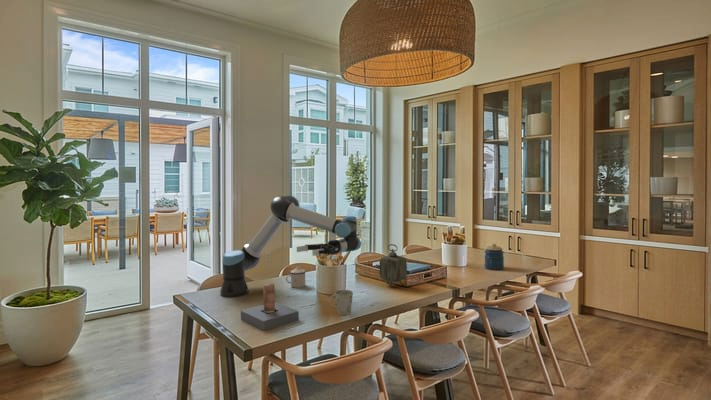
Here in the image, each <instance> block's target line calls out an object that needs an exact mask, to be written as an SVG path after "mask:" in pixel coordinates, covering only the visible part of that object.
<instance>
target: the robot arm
mask: <svg viewBox="0 0 711 400" xmlns="http://www.w3.org/2000/svg"><path fill="white" fill-rule="evenodd" d="M269 207H270V212H271V214H270V216H269V217H268V218H267V219H266V221H265V222H264V224H263V225H262V226H261V228H260V229H259V231H257V233H256V234H255V235H254V237H253V238H252V240H250V242H249V243H245V244H244V245H243V247H242V248H241V250H238V249H237V250H232V251H227V252H225V253H224V254H222V261H221V262H222V276H223V277H222V279H223V281H222V284H221V287H220V291H219V292H220V296H221V297H226V298H233V297H234V298H235V297H241V296H245V295H247V294H248V293H249V287H248V284H247V282H246V279H245V277H246V276H245V274H246V273H245V272H246V271H248V270H251V269H254V268H255V267H256V266H258V264H259V262H260V258H261V257H262V251H264V249H265V247H266V246H267V245H268V244H269V242H270V241H271V240H272V238H273V237H274V236H275V234H276V233H277V232H278V231H279V229H280V228H281V227H282V225H283V224H285V223H288V222H289V221H290V220H294V221H296V222H299V223H302V224H305V225H308V226H311V227H314V228H317V229H319V230H322V231H326V232H328V233H331V234H334V235H336V236H337V237H338V238H337V239H331V240H329V241H328V243H314V244H305V245H301V246H296V253H301V252H308V251H312V256H314V257H315V256H320V255H336V254H340V255H341V254H343V253H347V252H353V251H357V250H360V248H361V246H362V241H361V238H359V237H358V232H357V231H358V229H357V226H358V225H357V224H358V221H357V216H351V215H348V216H344V217H343V220H341V219H340V220H339V219H336V218H334V217H330V216H328V215H325V214H322V213H318V212H315V211H313V210H310V209H307V208H303V207H301V206H300V202H299V200H298V198H297V197H296V196H293V195H290V194H289V195H279V196H276V197H274V199H272V201H271V202H270V206H269ZM342 247H343V248H342Z"/></svg>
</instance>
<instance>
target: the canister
mask: <svg viewBox="0 0 711 400" xmlns="http://www.w3.org/2000/svg"><path fill="white" fill-rule="evenodd" d="M485 249H486V250H484V268H485V269H486V270H492V271H502V270H504V269H505V265H504V264H505V263H504V262H505V261H504V260H505V256H504V254H505V252H504V251H503V249H504V248H502V247H501V246H498V245H497V244H496V243H492V245H489V246H486V247H485Z"/></svg>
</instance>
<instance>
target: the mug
mask: <svg viewBox="0 0 711 400" xmlns="http://www.w3.org/2000/svg"><path fill="white" fill-rule="evenodd" d="M353 295H354V293H353V291H352V290H351V289H350V290H348V289H340V290H336V291H335V292H334V293H333V294H331V296H330V298H329V302H330V304H331V306H332V307H333V308H335V309H337V314H338V315H339V316H348V315H350V314H351V313H352V312H351V311H352V305H353V303H352V302H353ZM334 297H335V301H336V302H335V303H336V305H335V304H334V302H333V299H334Z"/></svg>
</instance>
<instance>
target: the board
mask: <svg viewBox="0 0 711 400" xmlns="http://www.w3.org/2000/svg"><path fill="white" fill-rule="evenodd" d="M299 314H300V313H299V310H296V309H294V308H292V307H288V306H287V305H283V304H281V303H278V302H276V301H275V312H273V313H269V314H266V313H264V304H262V305H256V306H253V307H250V308H245V309H242V310H240V320H242V321H244V322H246V323H248V324H249V325H252V326H253V327H256V328H258V329H260V330H261V331H267V330H270V329H274V328H278V327H279V326H283V325H287V324H290V323H294V322H297V321H299V320H300V317H299V316H300V315H299Z"/></svg>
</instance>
